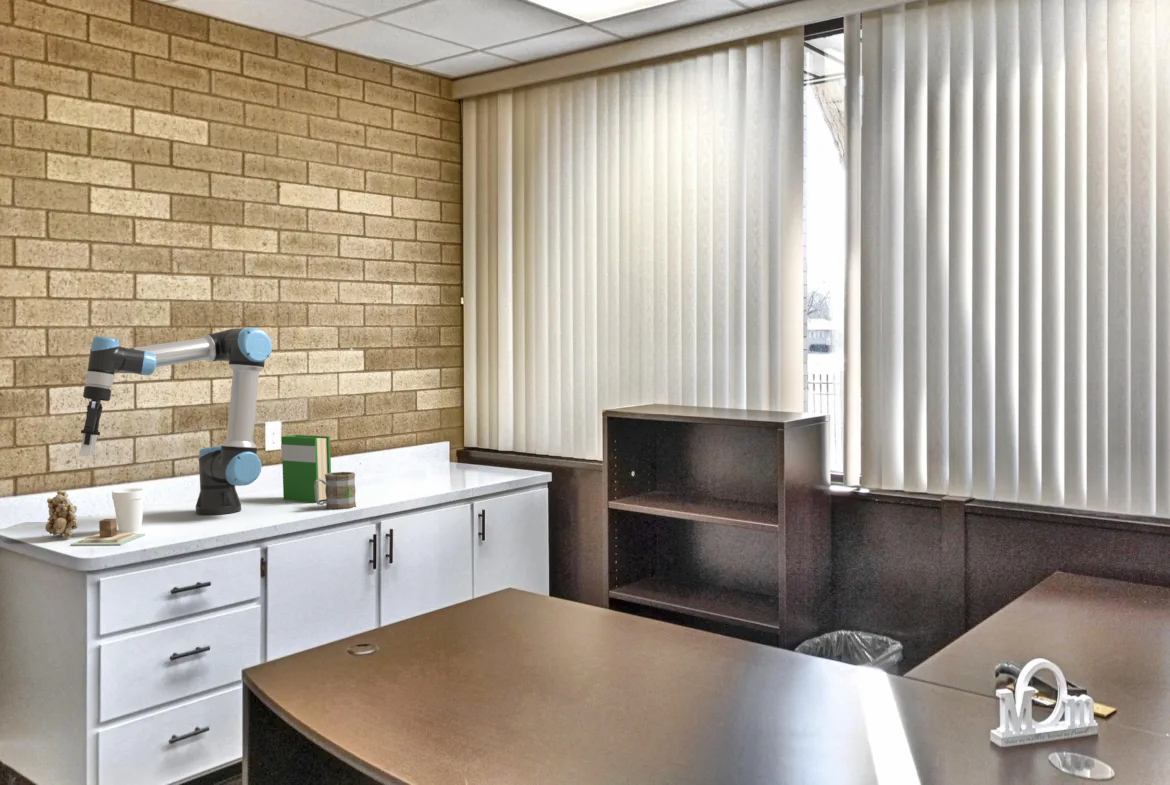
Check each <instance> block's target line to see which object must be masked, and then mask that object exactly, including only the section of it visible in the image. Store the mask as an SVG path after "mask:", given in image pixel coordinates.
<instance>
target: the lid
mask: <svg viewBox="0 0 1170 785" xmlns="http://www.w3.org/2000/svg"><path fill="white" fill-rule="evenodd" d="M98 526H99V527H98V529H99V533H96V534H93V535H91V536H88V537H85V538H83V539H80V541H81V543H104V542H119V541H122V540H124V539H127V538H129V537H132V536H134V535H135V534H136V532H133V533H120V532H118V523H117V518H103V519H101V520H99V521H98Z"/></svg>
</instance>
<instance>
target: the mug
mask: <svg viewBox="0 0 1170 785" xmlns="http://www.w3.org/2000/svg"><path fill="white" fill-rule="evenodd" d="M355 477H356V473H355V472H353V471H352V472H351V471H338V472H337V471H335V472H331V473H328V474H325V479H326V482H325V481H324V480H323V479H320V478H319V479H317V480H316V481H315V483H314V490H315V500H316V502H317V503H316V505H319V506H323V505H325V509H327V510H335V511H336V510H337V511H338V510H347V509H348V510H350V509H354V508H357V505H356V504H357V502H356V483H355V481H356V479H355ZM319 481H321V482H322V483H323V484H325V485H326V489H325V492H326V500H323V501H322V502H320V500H319V497H318V488H317V485H318V482H319ZM353 507H354V508H353Z"/></svg>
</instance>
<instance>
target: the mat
mask: <svg viewBox="0 0 1170 785" xmlns="http://www.w3.org/2000/svg"><path fill="white" fill-rule="evenodd" d="M145 536H146V533H135V535H134V536H132V537H129V538H127V539H124V540H122V541H119V542H104V543H81V540H78V541H75V542H73V543H70V547H81V546H82V547H86V546H87V547H88V546H91V547H94V546H101V547H102V546H105V547H106V546H123V545H125V544H127V543H130V542H132V541H135V540H137V539H139V538H142V537H145Z"/></svg>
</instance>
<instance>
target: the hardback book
mask: <svg viewBox="0 0 1170 785" xmlns="http://www.w3.org/2000/svg"><path fill="white" fill-rule="evenodd" d="M281 456H282V457H281V462H282V464H281V465H282V489H283V490H282V491H283V501H291V502H302V503H313V504H317V502H316V500H315V490H314V483H315V481H316V480H317V479H319V478H320V479H323V480H324V481H325V482H326V479H325V474H328V473H332V465H331V463H332V460H331V459H332V458H331V457H332V456H331V436H330V435H329V436H328V435H308V434H292V435H283V436H281ZM317 488H318V497H319V501H326V492H325V489H326V485H325V484H323V483H322V482H321V481H319V482H318V485H317Z"/></svg>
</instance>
